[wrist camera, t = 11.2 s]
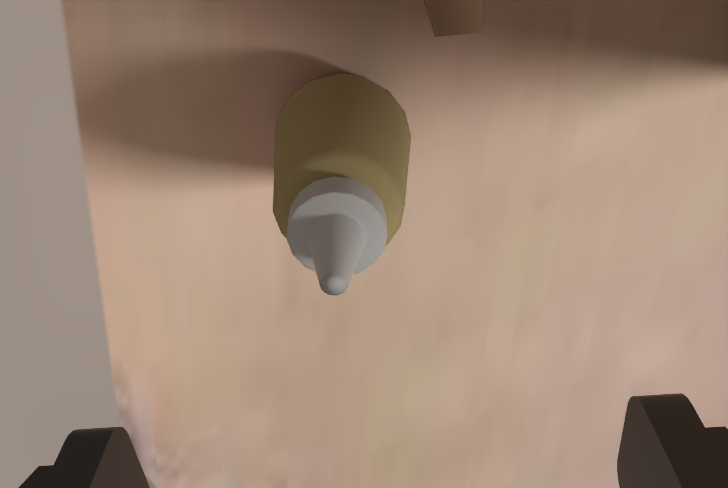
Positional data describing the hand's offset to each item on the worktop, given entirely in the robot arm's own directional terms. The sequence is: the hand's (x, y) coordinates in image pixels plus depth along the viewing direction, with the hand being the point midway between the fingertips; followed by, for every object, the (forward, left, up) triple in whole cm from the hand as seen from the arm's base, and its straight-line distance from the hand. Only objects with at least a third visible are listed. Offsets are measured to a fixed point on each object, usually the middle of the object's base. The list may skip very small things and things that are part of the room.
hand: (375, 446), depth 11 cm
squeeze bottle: (+2, +8, -33) cm, 34 cm away
